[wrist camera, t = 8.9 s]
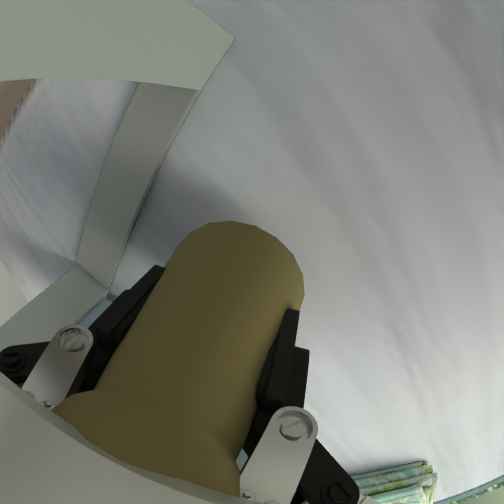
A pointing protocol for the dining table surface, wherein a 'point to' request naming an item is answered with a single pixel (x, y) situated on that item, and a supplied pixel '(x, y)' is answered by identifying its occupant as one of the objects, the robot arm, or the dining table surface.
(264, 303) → the cork
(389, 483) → the towel
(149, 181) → the door frame
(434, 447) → the dining table surface
